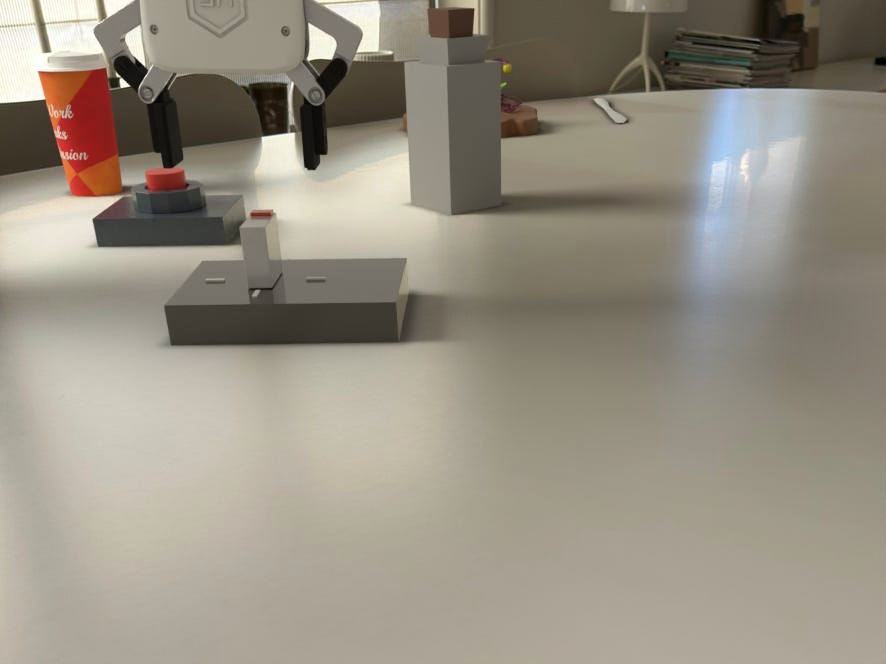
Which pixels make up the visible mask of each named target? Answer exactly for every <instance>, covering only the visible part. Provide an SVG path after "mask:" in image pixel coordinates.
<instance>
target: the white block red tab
mask: <svg viewBox="0 0 886 664" xmlns="http://www.w3.org/2000/svg"><path fill="white" fill-rule="evenodd" d="M249 214H250V215H249V216H248V217H246V220H245V222H244V223H243V224H242V225H241V226H240V228H239V236H240V244H241V250H242V258H243V260H244V266H245V273H246V281H247V288H272V287H273V286H274V284H275V283H276V281H277V279H278V278H279V276H280V275H281V273H282V271H283V269H282V260H283V259H282V252H281V244H280V235H279V227H278V226H279V225H278V218H277V213H276V212H274V209H251V211H250V213H249Z"/></svg>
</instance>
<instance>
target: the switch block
mask: <svg viewBox="0 0 886 664" xmlns="http://www.w3.org/2000/svg"><path fill="white" fill-rule="evenodd" d="M186 184H187V187H186V188H182V189H177V190H167V191H154V190H148V187H147V181H146V182H141V183H138V184H135V185H134V186H132V187H131V188H130V192H131V196H127V195H126V196H121V197H120V198H119V199H118V200H116V201H115V202H113V203H112V204H111V205H109V206H108V207H107V208H105V209H104V210H103V211H101V212H100V213H99V214H97V215H95V216H94V217H93V218H92V219H91V220H92V225H93V229H94V236H95V240H96V244H97V247H98V248H113V247H114V248H115V247H119V248H120V247H177V246H179V247H182V246H189V247H190V246H228V243H229V242H230V241H231V240H232V239H233V238H234V236H236V234H237V233H238V232H239V231H240V229H239V228H240V226H241V225H242V224H243V223H244V222H245V220H246V219H247V216H246V208H245V200H244V195H243V194H209V195H208V194H206V192H205V185H204V183H202V182H200V181H198V180H193V179H192V180H191V179H186Z"/></svg>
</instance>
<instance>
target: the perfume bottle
mask: <svg viewBox="0 0 886 664" xmlns="http://www.w3.org/2000/svg"><path fill="white" fill-rule="evenodd" d="M475 10H476V9H475V7H458V6H451V7H435V8H433V7H432V8H426V11H427V20H428V28H429V34H418V35H412V39H413V42H414V45H415V50H416V53H417V56H418V60H413V61H404V64H403V65H404V66H403V68H404V85H405V87H404V88H405V105H406V113H407V130H408V132H407V148H408V149H407V150H408V171H409V190H410V192H409V193H410V205H411V206H414V207H419V208H422V209H426V210H430V211H435V212H438V213H442V214H446V215H449V216H453V215H458V214H463V213H467V212H473V211H478V210H483V209H488V208H494V207H498V206H502V138H501V94H502V89H501V84H502V74H501V73H502V70H501V69H502V65H501V64H502V62H501V61H492V60H490V59H486V56H487V52H488V48H489V45H490V40H491V35H492V34H483V33H482V34H481V33H474V26H475V25H474V23H475Z"/></svg>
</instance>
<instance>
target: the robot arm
mask: <svg viewBox="0 0 886 664" xmlns="http://www.w3.org/2000/svg"><path fill="white" fill-rule="evenodd" d="M310 25H311V26H312V27H315V28H317V29H318V30H320V31H322V32H323V33H325V34H326V35H328V36H330V37H332V38H333V39H334V41H335V43H336V46H335V49H334V53H333V56H332V58H331V61H330V62H329V63H328V65H327V66H326V67H325V68H324V70H322V72H321V73H319V71H318V70H317V69H316V68H315V67H314V66H313V64H312V63H311V62H310V61H309V60H308V57H309V54H310V47H311V46H310V44H311V43H310ZM139 26H141V28H142V29H141V30H142V36H143V43H144V48H145V52H146V53H145V54H146V56H147V59H148V61H149V62H150V63H151V66H150V68H149V69H148V68H147V67H146V66H145V65H144V64H143V63H142V62H141V61H140V60H139V59H138V58H137V57H136V56H134V55H133V54H132V52H131V50H130V48H129V45H128V44H127V41H126V36H127V35H128V33H129V32H132V31H133V30H134V29H136V28H137V27H139ZM93 35H94V37H95V39H96V41H97V42H98V43H99V46H100V47H101V48H102V50H103V52H104V53H105V55H106V57H107V59H108V60H110V62H111V64H112V66H113V69H114V71H115V73H116V74H117V75H118V76H119V77H120V78H121V79H122V80H123V81H124V82H125V83H126V84H127V85H128V86H129V87H130V88H131V89H132V90H134V91H135V92H136V93H137V94H138V98H139V99H140V100H141V101H142V102H143V103H145V104H146V109H147V116H148V123H149V129H150V136H151V144H152V149H153V151H154V153H155V154H160V156H161V163H162V168H164V169H172V168H173V167H177V166H178V165H179V164H180V163H182V162H183V161H184V158H185V157H184V150H183V142H182V135H181V127H180V121H179V113H178V112H179V111H178V104H177V101H176V100H174V97H171V93H170V88H171V86H172V85H173V84H174V82H175V80H176V79H177V77H178V75H179V74H188V75H189V74H191V75H196V74H197V75H280V74H285V75H286V76H287V77H288V78H289V79H290V81H291V82H292V83H293V84H294V86H295V87H296V88H297V90H299V92H300V93H301V94H302V97H303V98H302V99H303V104H302V105H300V107H299V117H300V118H299V119H300V132H301V133H300V134H301V145H302V155H303V156H302V158H303V168H304V169H306V170H307V171H316V170H317V169H318V167H319V166H320V164H321V156H327V155H328V153H329V144H328V143H329V142H328V129H327V113H326V112H327V111H326V100H327V99H328V98H329V96H330V95H331V94H332V93H333V92H334V91H335V89H336V88H337V87H338V86H339V84H341V82H342V81H343V79H344V78H346V76H347V75H348V74H349V72H350V69H351V67H352V64H353V61H354V59H355V57H356V55H357V53H358V50H359V47H360V46H361V42H362V40H363V36H364V33H363V30H362V28H361V27H360V26H359V25H357V24H355V23H353V22H352V21H351V20H349V19H347V18H345V17H343V16H342V15H340V14H339V13H337V12H335V11H334V10H332V9H330V8H329V7H327V6H325V5H323V4H322V3H320V2H319V1H317V0H132V1H130V2H128V3H127V4H126V5H124V6H123V7H121V8H120V9H117V10H116V11H115V12H113V13H111V14H110V15H109V16H107V17H105V18H104V19H103V20H101V21H100V22H98V23H96V24H95V26H93Z"/></svg>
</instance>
